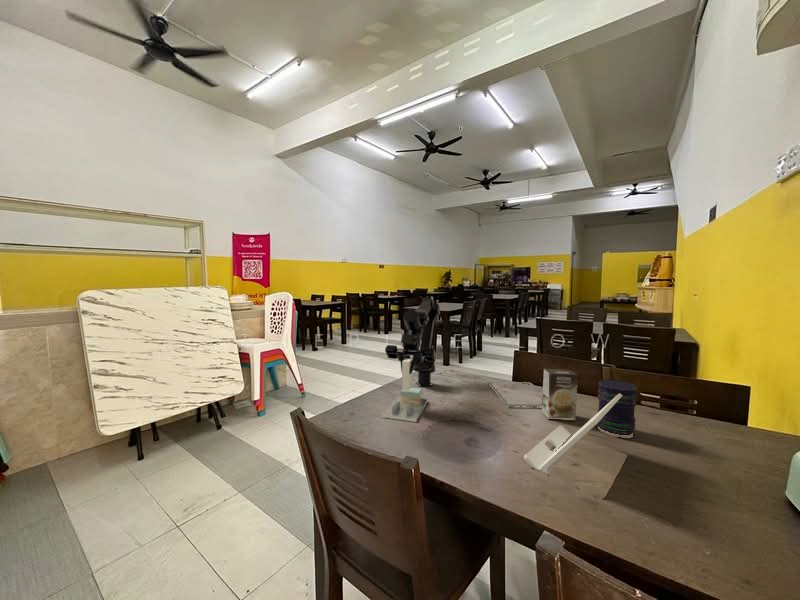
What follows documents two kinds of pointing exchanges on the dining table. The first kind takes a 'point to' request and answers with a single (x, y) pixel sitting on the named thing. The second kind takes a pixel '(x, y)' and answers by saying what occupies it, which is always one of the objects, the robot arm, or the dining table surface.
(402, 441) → the dining table surface
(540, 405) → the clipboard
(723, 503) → the dining table surface
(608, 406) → the tablet stand
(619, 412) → the storage jar
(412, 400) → the block
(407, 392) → the offcut top
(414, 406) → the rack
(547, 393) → the cookie box
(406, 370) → the cream rectangular block
